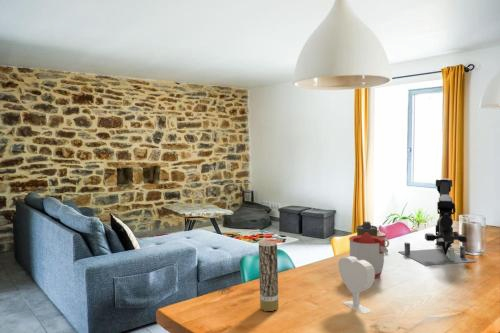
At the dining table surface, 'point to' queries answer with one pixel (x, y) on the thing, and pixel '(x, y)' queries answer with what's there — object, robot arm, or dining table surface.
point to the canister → (367, 229)
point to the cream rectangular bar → (450, 254)
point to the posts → (462, 250)
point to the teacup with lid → (382, 235)
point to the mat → (435, 257)
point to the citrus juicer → (369, 250)
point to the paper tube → (268, 275)
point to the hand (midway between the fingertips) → (445, 254)
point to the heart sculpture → (356, 279)
